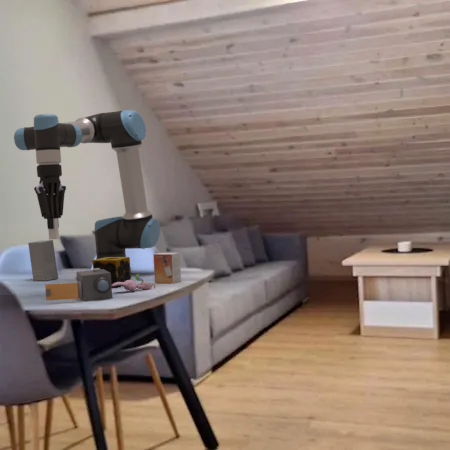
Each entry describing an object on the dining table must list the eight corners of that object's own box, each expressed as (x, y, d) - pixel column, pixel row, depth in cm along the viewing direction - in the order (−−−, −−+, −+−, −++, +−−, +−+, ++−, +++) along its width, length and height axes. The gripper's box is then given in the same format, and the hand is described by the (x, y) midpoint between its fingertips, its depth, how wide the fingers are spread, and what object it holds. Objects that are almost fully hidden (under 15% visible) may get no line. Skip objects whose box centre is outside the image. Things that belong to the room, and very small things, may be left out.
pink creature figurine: (149, 291, 228) (108, 290, 220) (151, 274, 228) (109, 272, 220) (157, 293, 222) (115, 292, 215) (158, 275, 222) (116, 273, 215)
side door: (82, 298, 206) (81, 281, 206) (81, 299, 205) (80, 282, 204) (47, 300, 206) (45, 283, 206) (45, 301, 204) (44, 284, 204)
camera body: (77, 295, 217) (75, 269, 217) (105, 292, 221) (103, 266, 220) (84, 302, 204) (82, 274, 204) (113, 298, 207) (111, 271, 207)
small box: (154, 283, 237) (152, 254, 237) (163, 280, 242) (161, 252, 242) (173, 283, 233) (171, 254, 233) (181, 281, 238) (179, 252, 238)
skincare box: (58, 278, 264) (55, 239, 263) (44, 281, 259) (41, 241, 258) (44, 278, 269) (42, 239, 268) (30, 280, 264) (27, 241, 263)
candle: (92, 288, 234) (90, 260, 233) (107, 283, 243) (105, 256, 243) (118, 288, 230) (116, 259, 230) (131, 283, 240) (130, 256, 239)
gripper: (52, 165, 214) (57, 237, 216) (25, 164, 202) (30, 241, 204) (71, 163, 211) (76, 237, 212) (44, 163, 199) (50, 240, 201)
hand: (54, 239), depth 208 cm, fingers closed
